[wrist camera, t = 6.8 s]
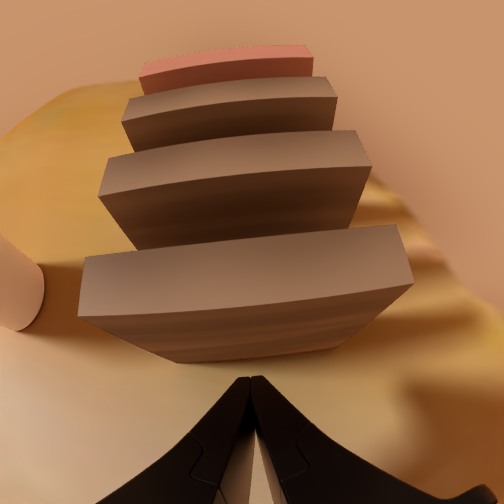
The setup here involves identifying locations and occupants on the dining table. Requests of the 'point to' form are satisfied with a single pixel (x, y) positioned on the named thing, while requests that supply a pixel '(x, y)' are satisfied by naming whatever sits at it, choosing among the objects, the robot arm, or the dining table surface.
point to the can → (18, 287)
